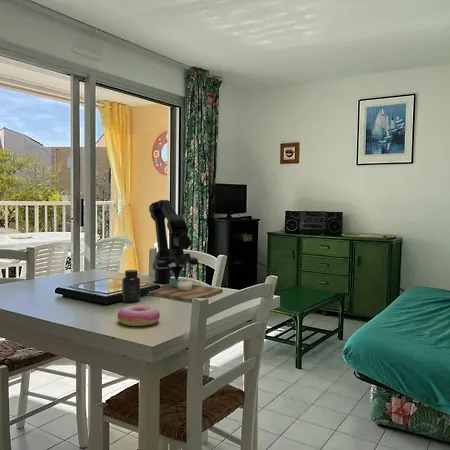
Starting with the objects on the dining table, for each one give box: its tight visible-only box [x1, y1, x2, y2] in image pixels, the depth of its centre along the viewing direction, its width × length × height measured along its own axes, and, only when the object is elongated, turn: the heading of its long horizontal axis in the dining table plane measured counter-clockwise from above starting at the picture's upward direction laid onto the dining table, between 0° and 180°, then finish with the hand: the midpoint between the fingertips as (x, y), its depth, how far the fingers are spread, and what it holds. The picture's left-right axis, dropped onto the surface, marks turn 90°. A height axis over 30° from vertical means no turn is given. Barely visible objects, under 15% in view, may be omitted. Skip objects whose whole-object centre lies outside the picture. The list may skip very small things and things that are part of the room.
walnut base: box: [147, 283, 224, 304], centre depth 194 cm, size 24×24×2 cm
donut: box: [117, 304, 161, 327], centre depth 149 cm, size 14×13×5 cm
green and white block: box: [169, 278, 193, 291], centre depth 196 cm, size 13×6×3 cm, turn 43°
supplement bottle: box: [121, 269, 141, 304], centre depth 177 cm, size 7×7×12 cm
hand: (176, 281), depth 201 cm, fingers closed
